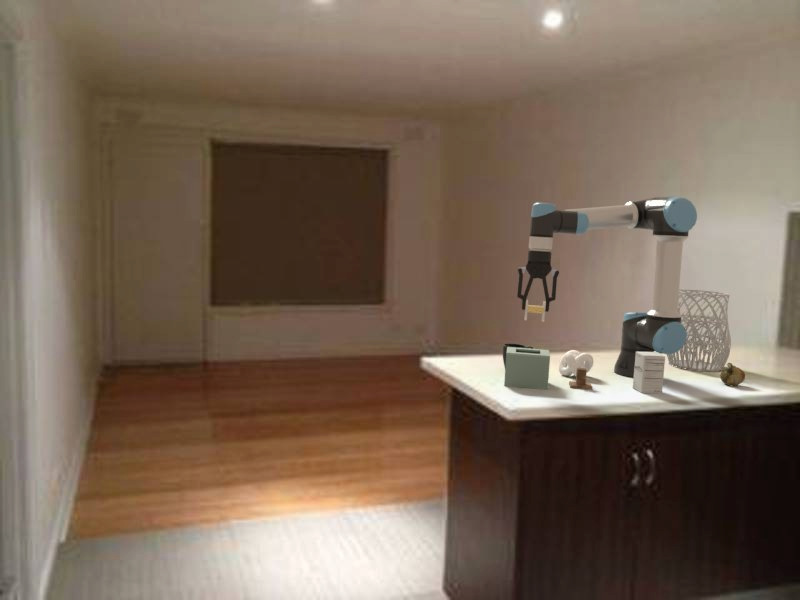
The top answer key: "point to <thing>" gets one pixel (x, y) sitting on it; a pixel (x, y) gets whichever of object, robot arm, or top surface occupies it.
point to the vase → (719, 358)
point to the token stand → (580, 380)
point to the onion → (732, 375)
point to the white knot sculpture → (575, 362)
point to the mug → (511, 346)
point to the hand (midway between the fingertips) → (534, 320)
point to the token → (535, 309)
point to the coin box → (527, 368)
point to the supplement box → (648, 372)
